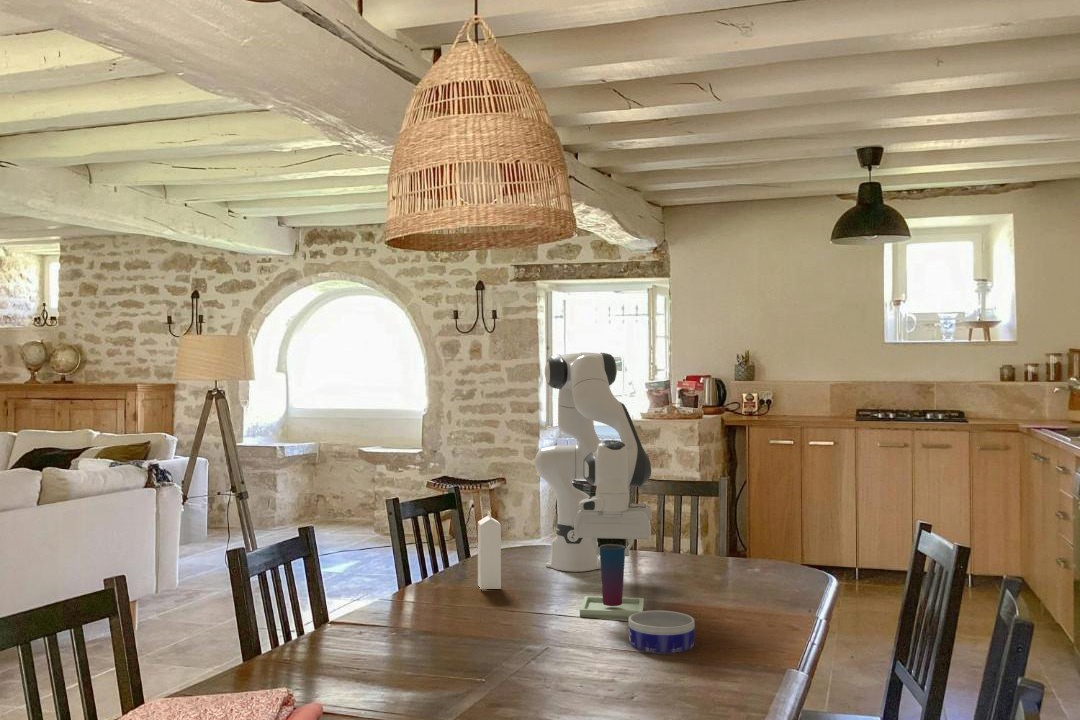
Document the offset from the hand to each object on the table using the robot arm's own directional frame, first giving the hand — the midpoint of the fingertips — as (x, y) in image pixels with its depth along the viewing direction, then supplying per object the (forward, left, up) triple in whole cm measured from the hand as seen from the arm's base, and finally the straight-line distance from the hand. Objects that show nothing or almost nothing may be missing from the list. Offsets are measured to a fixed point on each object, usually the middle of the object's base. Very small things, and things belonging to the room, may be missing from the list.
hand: (612, 555), depth 243 cm
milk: (-20, -37, -15) cm, 45 cm away
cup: (0, 0, -13) cm, 13 cm away
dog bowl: (+27, +13, -15) cm, 34 cm away
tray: (0, 0, -15) cm, 15 cm away
